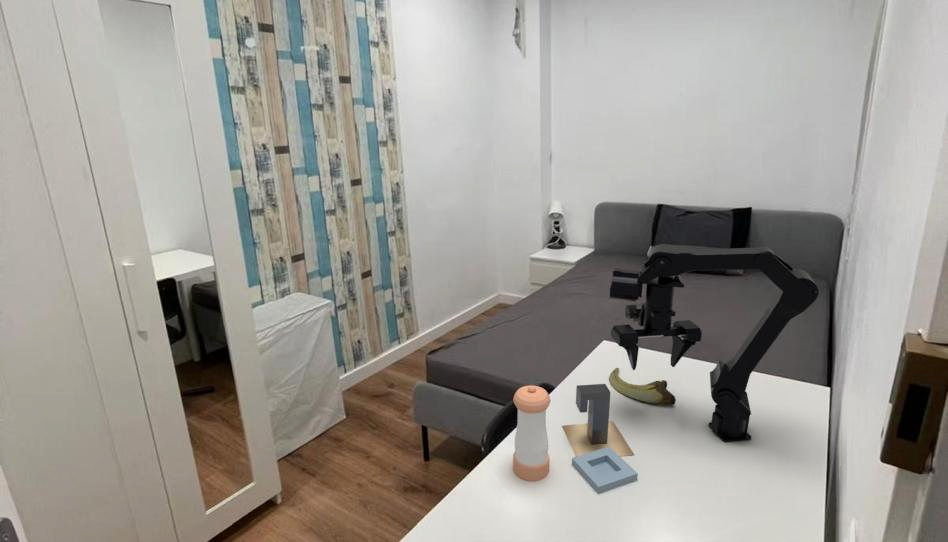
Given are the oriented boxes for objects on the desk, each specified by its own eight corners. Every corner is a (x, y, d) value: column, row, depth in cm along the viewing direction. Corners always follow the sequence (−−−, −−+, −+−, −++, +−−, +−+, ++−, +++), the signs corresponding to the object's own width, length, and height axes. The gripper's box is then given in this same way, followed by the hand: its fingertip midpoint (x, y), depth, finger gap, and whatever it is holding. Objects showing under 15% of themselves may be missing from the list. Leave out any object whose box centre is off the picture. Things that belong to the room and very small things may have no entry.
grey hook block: (602, 434, 112) (605, 383, 108) (607, 443, 109) (610, 392, 105) (574, 436, 112) (576, 385, 108) (578, 445, 109) (580, 394, 105)
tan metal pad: (612, 423, 117) (613, 421, 117) (634, 457, 106) (634, 454, 105) (561, 427, 116) (561, 425, 116) (577, 462, 104) (577, 460, 104)
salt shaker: (507, 464, 105) (506, 381, 99) (538, 455, 107) (539, 374, 101) (522, 487, 98) (523, 400, 92) (556, 477, 101) (558, 392, 95)
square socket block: (608, 454, 107) (609, 446, 106) (636, 481, 99) (637, 473, 98) (571, 466, 103) (572, 458, 103) (598, 495, 96) (598, 486, 95)
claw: (684, 398, 127) (685, 386, 126) (664, 415, 120) (665, 402, 119) (616, 372, 141) (616, 361, 140) (594, 386, 134) (594, 374, 133)
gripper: (681, 288, 119) (675, 348, 123) (604, 293, 117) (600, 354, 122) (707, 305, 108) (699, 371, 113) (622, 311, 106) (618, 377, 111)
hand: (652, 367), depth 115 cm, fingers open, 9 cm apart
